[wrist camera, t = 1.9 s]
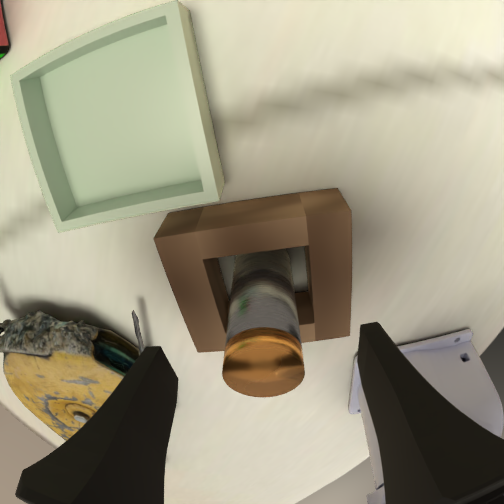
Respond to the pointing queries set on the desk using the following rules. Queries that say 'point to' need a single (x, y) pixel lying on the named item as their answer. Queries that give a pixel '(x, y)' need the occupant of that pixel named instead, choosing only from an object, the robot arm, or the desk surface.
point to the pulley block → (64, 367)
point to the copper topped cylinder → (263, 327)
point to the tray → (121, 121)
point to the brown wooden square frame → (256, 240)
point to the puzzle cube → (3, 36)
